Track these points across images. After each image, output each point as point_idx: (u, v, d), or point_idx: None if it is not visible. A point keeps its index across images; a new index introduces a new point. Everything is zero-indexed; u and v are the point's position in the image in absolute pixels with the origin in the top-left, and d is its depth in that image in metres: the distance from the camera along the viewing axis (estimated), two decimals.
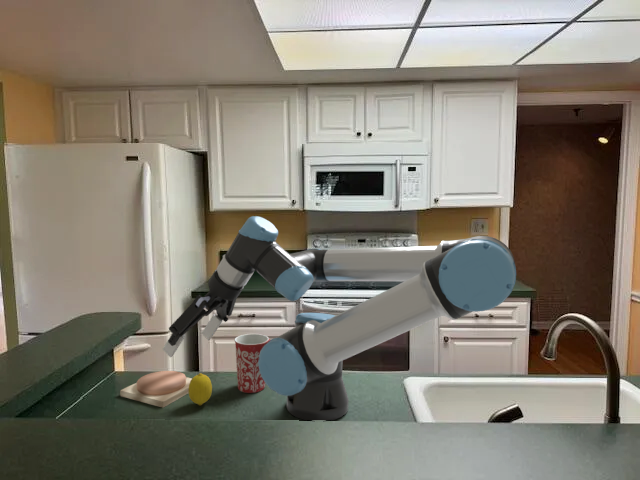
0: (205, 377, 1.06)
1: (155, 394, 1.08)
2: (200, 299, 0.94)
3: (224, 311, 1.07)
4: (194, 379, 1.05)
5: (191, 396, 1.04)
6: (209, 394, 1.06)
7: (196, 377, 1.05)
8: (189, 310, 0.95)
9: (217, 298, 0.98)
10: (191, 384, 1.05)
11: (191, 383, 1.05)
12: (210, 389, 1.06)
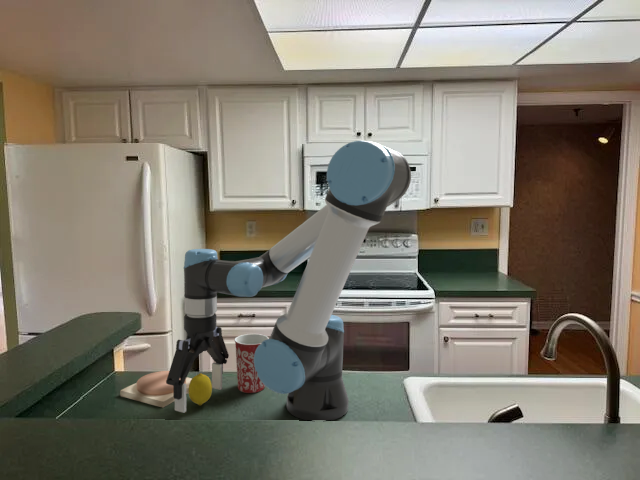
0: (205, 377, 1.06)
1: (155, 394, 1.08)
2: (180, 342, 0.99)
3: (217, 352, 1.10)
4: (194, 379, 1.05)
5: (191, 396, 1.04)
6: (209, 394, 1.06)
7: (196, 377, 1.05)
8: (176, 357, 0.99)
9: (197, 336, 1.03)
10: (191, 384, 1.05)
11: (191, 383, 1.05)
12: (210, 389, 1.06)
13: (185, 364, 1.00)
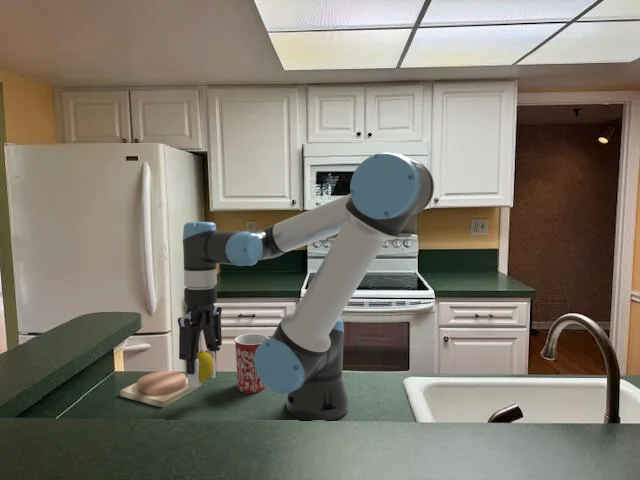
0: (207, 354, 1.05)
1: (155, 394, 1.08)
2: (181, 320, 0.99)
3: (213, 334, 1.07)
4: (196, 356, 1.04)
5: None
6: (211, 371, 1.05)
7: (197, 354, 1.05)
8: (181, 334, 0.99)
9: (197, 308, 1.02)
10: None
11: None
12: (212, 366, 1.05)
13: (192, 340, 1.02)
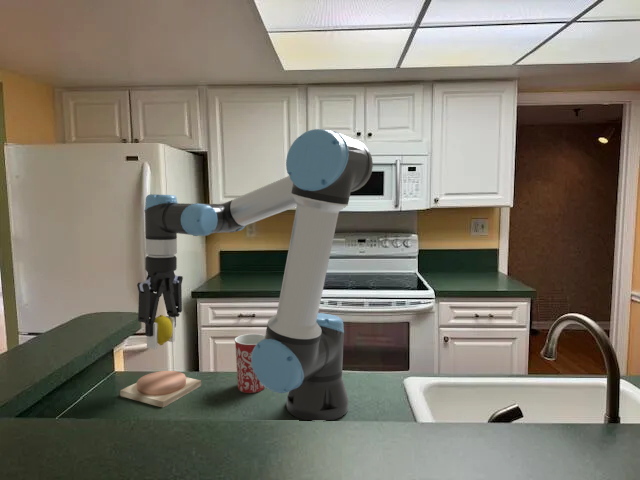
0: (166, 318, 1.12)
1: (155, 394, 1.08)
2: (140, 285, 1.06)
3: (172, 300, 1.14)
4: (155, 320, 1.11)
5: None
6: (169, 334, 1.12)
7: (157, 318, 1.12)
8: (141, 298, 1.06)
9: (156, 275, 1.09)
10: None
11: None
12: (170, 329, 1.12)
13: (151, 304, 1.09)
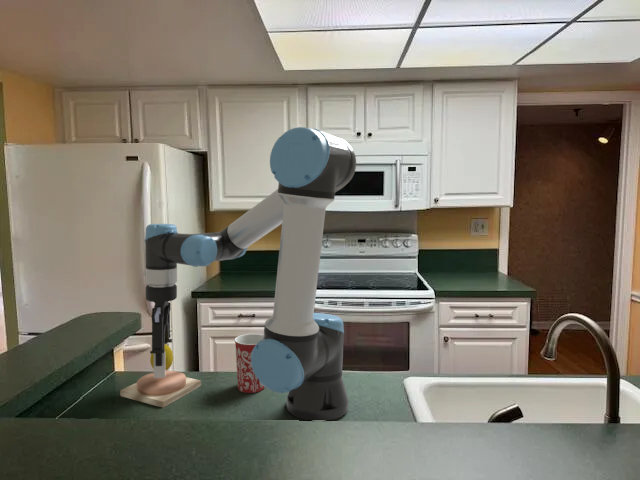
0: (167, 345, 1.14)
1: (155, 394, 1.08)
2: (156, 316, 1.06)
3: (168, 327, 1.16)
4: None
5: None
6: (172, 360, 1.14)
7: None
8: (155, 329, 1.06)
9: (164, 304, 1.10)
10: None
11: None
12: (172, 356, 1.14)
13: None
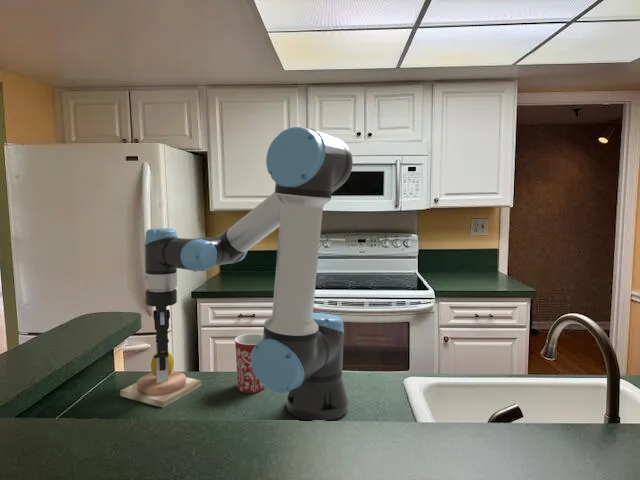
0: None
1: (155, 394, 1.08)
2: (161, 318, 1.06)
3: None
4: None
5: None
6: None
7: None
8: (160, 332, 1.06)
9: None
10: None
11: None
12: None
13: None
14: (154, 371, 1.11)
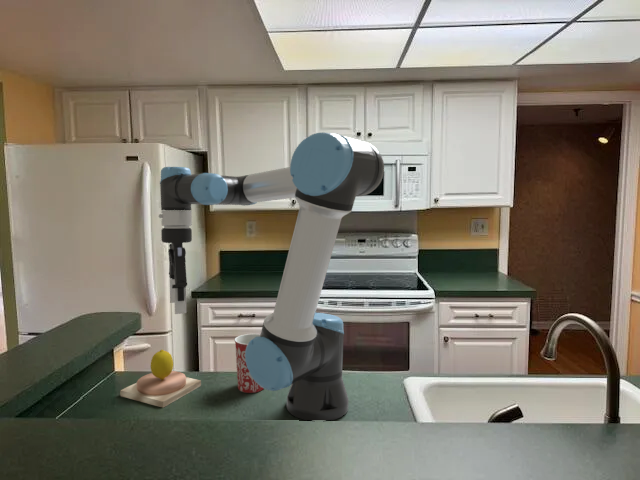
0: (167, 352, 1.14)
1: (155, 394, 1.08)
2: (179, 249, 1.08)
3: None
4: (160, 355, 1.12)
5: (160, 371, 1.11)
6: None
7: (160, 353, 1.12)
8: (178, 262, 1.07)
9: None
10: (158, 360, 1.11)
11: (158, 360, 1.11)
12: None
13: None
14: (154, 371, 1.11)
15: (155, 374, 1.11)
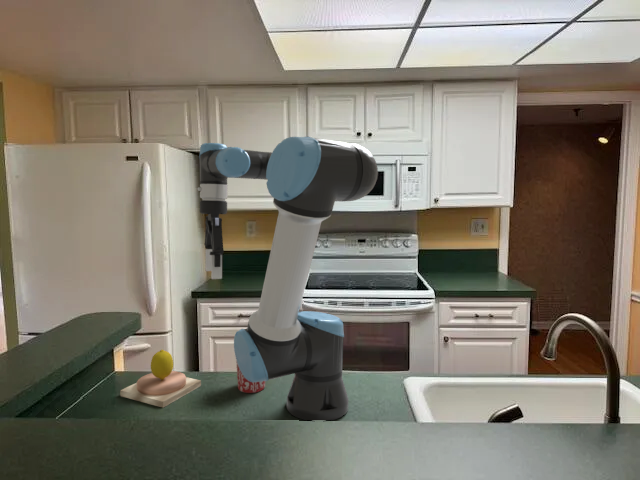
0: (167, 352, 1.14)
1: (155, 394, 1.08)
2: (216, 219, 1.17)
3: None
4: (160, 355, 1.12)
5: (160, 371, 1.11)
6: None
7: (160, 353, 1.12)
8: (215, 231, 1.16)
9: None
10: (158, 360, 1.11)
11: (158, 360, 1.11)
12: None
13: None
14: (154, 371, 1.11)
15: (155, 374, 1.11)
